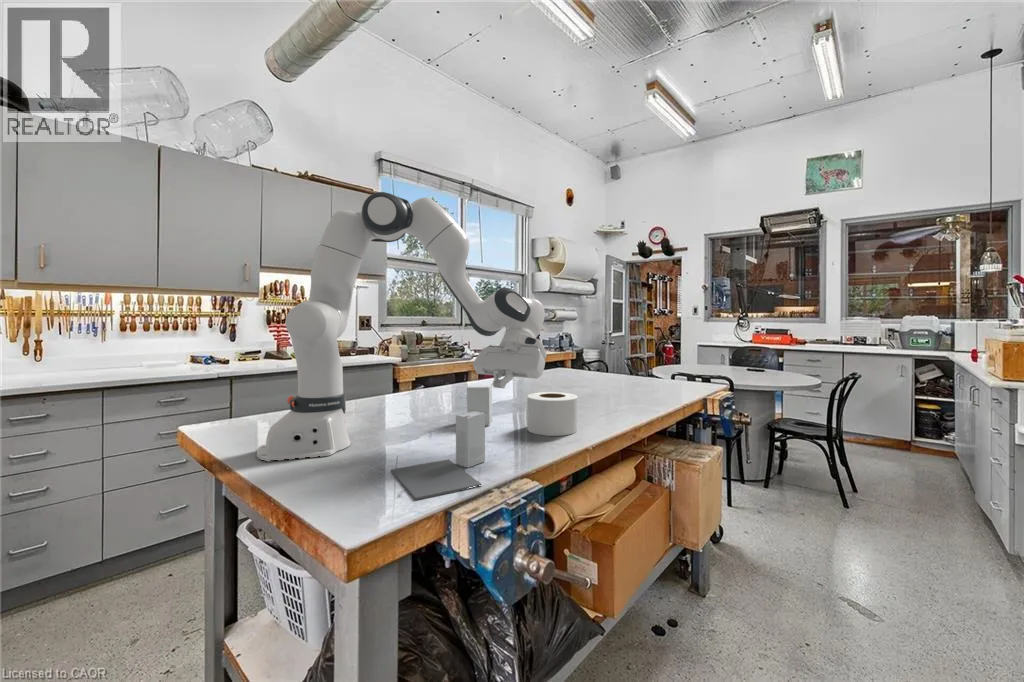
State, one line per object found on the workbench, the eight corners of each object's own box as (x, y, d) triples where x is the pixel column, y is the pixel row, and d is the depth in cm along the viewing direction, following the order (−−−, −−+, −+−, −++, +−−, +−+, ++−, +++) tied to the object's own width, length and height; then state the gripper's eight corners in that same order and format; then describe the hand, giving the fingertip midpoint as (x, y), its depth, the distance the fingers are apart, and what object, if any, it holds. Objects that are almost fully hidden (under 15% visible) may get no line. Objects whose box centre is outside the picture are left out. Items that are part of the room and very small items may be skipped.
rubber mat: (415, 500, 85) (415, 497, 85) (390, 471, 101) (390, 469, 101) (481, 486, 92) (481, 483, 92) (448, 461, 108) (448, 459, 108)
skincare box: (473, 458, 110) (472, 410, 109) (486, 462, 107) (486, 412, 107) (454, 464, 105) (454, 414, 105) (467, 469, 103) (467, 417, 102)
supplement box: (492, 421, 149) (492, 383, 148) (489, 426, 141) (489, 387, 140) (471, 420, 149) (470, 383, 148) (466, 426, 142) (466, 386, 141)
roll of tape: (527, 423, 146) (527, 390, 145) (575, 424, 145) (575, 391, 144) (526, 436, 130) (526, 399, 130) (579, 437, 129) (579, 400, 129)
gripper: (480, 338, 127) (460, 376, 119) (545, 340, 117) (527, 382, 109) (489, 352, 131) (470, 390, 123) (552, 355, 121) (536, 397, 113)
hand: (497, 386), depth 116 cm, fingers closed
